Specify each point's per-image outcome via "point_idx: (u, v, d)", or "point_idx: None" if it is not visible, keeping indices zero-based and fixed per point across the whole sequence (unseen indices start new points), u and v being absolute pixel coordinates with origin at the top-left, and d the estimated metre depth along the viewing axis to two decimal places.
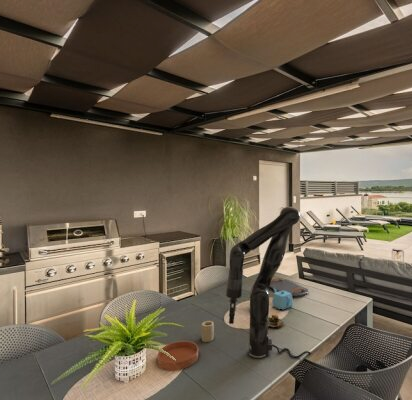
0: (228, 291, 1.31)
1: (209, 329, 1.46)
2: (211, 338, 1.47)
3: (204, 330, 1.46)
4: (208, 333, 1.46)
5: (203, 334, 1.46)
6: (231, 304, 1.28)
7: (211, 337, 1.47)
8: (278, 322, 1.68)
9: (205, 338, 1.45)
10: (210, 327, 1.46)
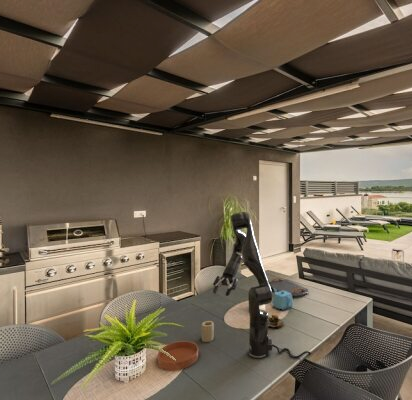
0: None
1: (209, 329, 1.46)
2: (211, 338, 1.47)
3: (204, 330, 1.46)
4: (208, 333, 1.46)
5: (203, 334, 1.46)
6: None
7: (211, 337, 1.47)
8: (278, 322, 1.68)
9: (205, 338, 1.45)
10: (210, 327, 1.46)
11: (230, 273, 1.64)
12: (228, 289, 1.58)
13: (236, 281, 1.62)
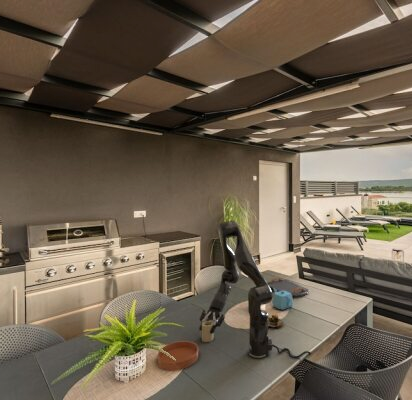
0: None
1: (209, 329, 1.46)
2: (211, 338, 1.47)
3: (204, 330, 1.46)
4: (208, 333, 1.46)
5: (203, 334, 1.46)
6: None
7: (211, 337, 1.47)
8: (278, 322, 1.68)
9: (205, 338, 1.45)
10: (210, 327, 1.46)
11: (217, 307, 1.52)
12: (213, 326, 1.47)
13: (223, 317, 1.50)
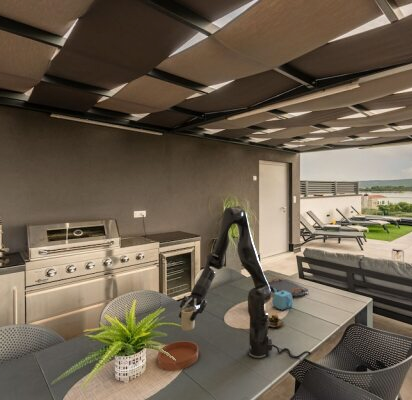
0: None
1: (189, 316, 1.33)
2: (191, 326, 1.34)
3: (184, 317, 1.33)
4: (188, 320, 1.33)
5: (183, 322, 1.33)
6: None
7: (191, 325, 1.34)
8: (278, 322, 1.68)
9: (185, 326, 1.33)
10: (190, 314, 1.33)
11: (199, 292, 1.39)
12: (193, 313, 1.34)
13: (205, 303, 1.37)
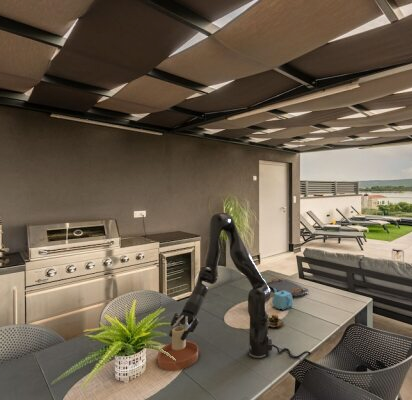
0: None
1: (180, 335, 1.28)
2: (182, 346, 1.29)
3: (174, 337, 1.28)
4: (179, 340, 1.28)
5: (173, 341, 1.28)
6: None
7: (182, 344, 1.29)
8: (278, 322, 1.68)
9: (175, 346, 1.28)
10: (181, 333, 1.28)
11: (190, 310, 1.34)
12: (184, 332, 1.29)
13: (196, 321, 1.32)
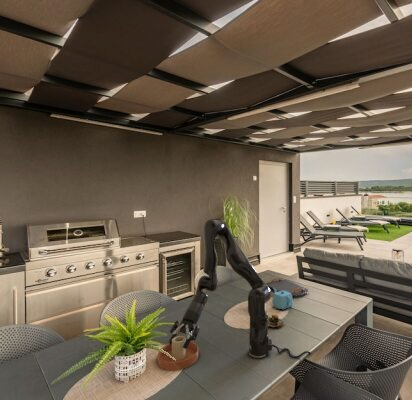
0: None
1: (180, 346, 1.28)
2: (182, 356, 1.29)
3: (174, 347, 1.28)
4: (179, 350, 1.28)
5: (173, 351, 1.28)
6: None
7: (182, 355, 1.29)
8: (278, 322, 1.68)
9: (175, 356, 1.28)
10: (181, 343, 1.28)
11: (191, 318, 1.34)
12: (186, 340, 1.29)
13: (197, 329, 1.32)
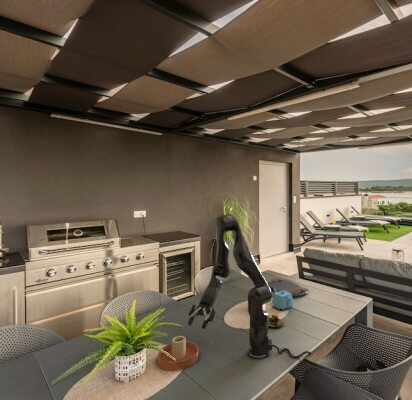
0: None
1: (180, 346, 1.28)
2: (182, 356, 1.29)
3: (174, 347, 1.28)
4: (179, 350, 1.28)
5: (173, 351, 1.28)
6: None
7: (182, 355, 1.29)
8: (278, 322, 1.68)
9: (175, 356, 1.28)
10: (181, 343, 1.28)
11: (207, 302, 1.46)
12: (205, 321, 1.41)
13: (214, 311, 1.44)
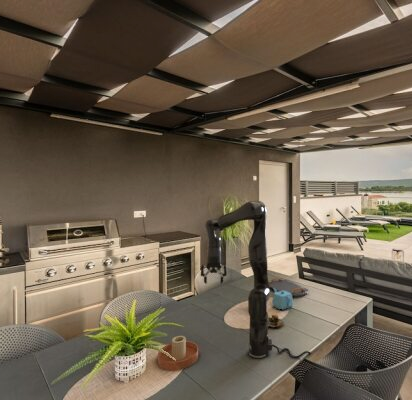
0: None
1: (180, 346, 1.28)
2: (182, 356, 1.29)
3: (174, 347, 1.28)
4: (179, 350, 1.28)
5: (173, 351, 1.28)
6: (202, 265, 1.55)
7: (182, 355, 1.29)
8: (278, 322, 1.68)
9: (175, 356, 1.28)
10: (181, 343, 1.28)
11: (217, 262, 1.53)
12: (221, 278, 1.54)
13: None
